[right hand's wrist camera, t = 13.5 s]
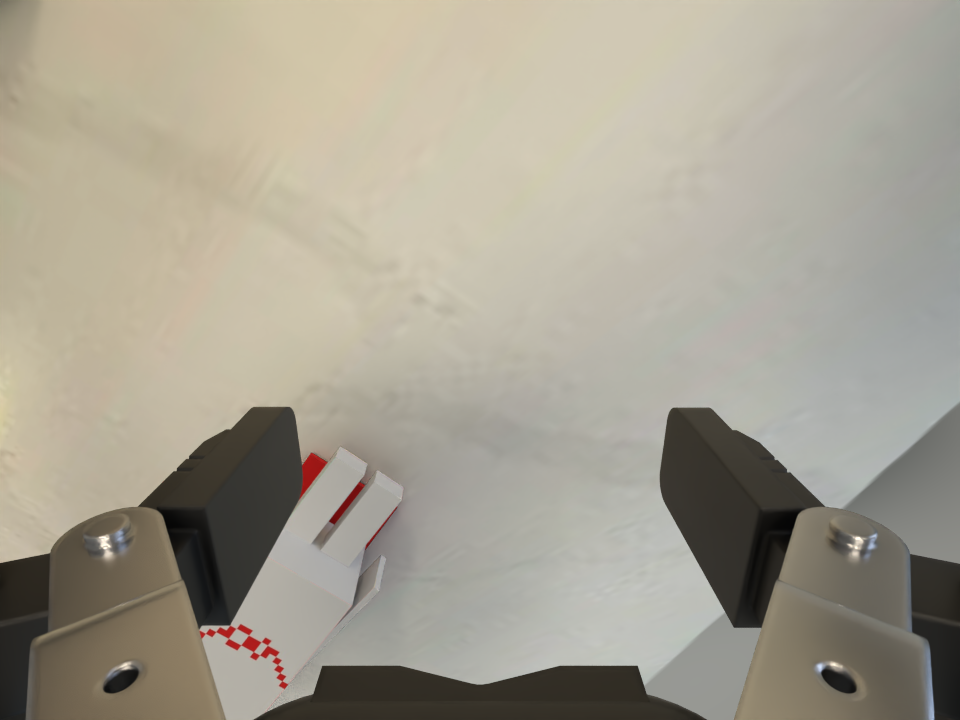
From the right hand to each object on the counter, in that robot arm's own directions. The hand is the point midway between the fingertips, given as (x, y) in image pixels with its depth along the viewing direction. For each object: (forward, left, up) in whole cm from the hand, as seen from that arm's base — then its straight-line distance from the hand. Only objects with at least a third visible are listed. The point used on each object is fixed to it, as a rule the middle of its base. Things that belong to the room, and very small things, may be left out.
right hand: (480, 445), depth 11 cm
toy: (+23, -25, -31) cm, 46 cm away
